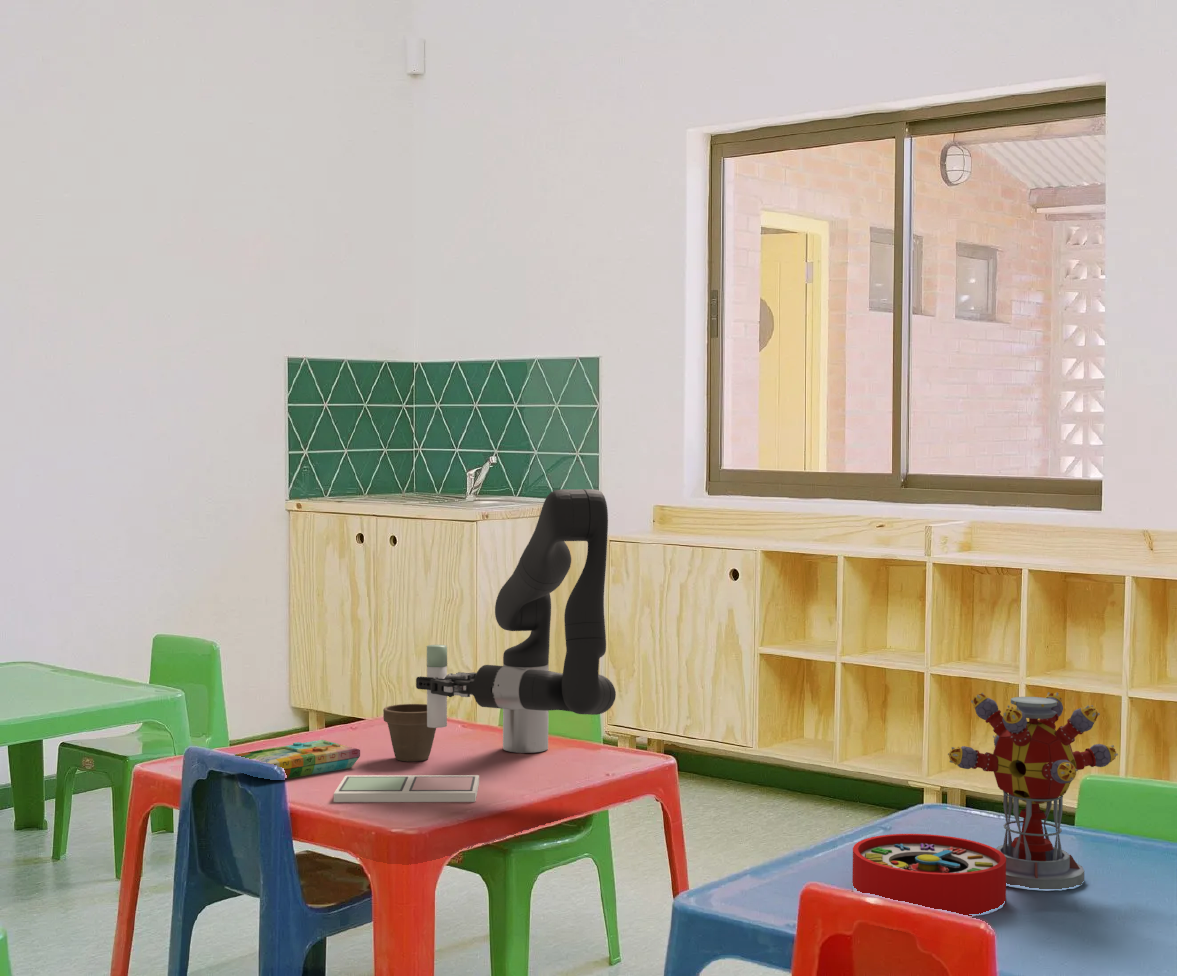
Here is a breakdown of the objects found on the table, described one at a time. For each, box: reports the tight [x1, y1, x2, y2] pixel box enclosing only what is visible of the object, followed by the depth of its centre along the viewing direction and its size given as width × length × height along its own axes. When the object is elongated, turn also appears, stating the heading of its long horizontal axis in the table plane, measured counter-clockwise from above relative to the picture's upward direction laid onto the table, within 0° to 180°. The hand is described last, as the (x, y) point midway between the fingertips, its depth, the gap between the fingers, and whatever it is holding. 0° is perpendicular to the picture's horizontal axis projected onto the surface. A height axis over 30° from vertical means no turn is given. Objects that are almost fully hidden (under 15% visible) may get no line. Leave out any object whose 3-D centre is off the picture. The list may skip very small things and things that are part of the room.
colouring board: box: [333, 774, 480, 803], centre depth 245 cm, size 14×24×2 cm, turn 92°
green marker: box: [426, 644, 448, 729], centre depth 254 cm, size 4×4×15 cm
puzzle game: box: [234, 739, 361, 780], centre depth 262 cm, size 12×5×20 cm
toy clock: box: [851, 833, 1007, 916], centre depth 187 cm, size 20×6×20 cm
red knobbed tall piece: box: [947, 691, 1119, 889], centre depth 196 cm, size 18×18×25 cm
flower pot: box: [382, 703, 437, 763], centre depth 274 cm, size 12×11×10 cm
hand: (423, 681), depth 255 cm, fingers closed on green marker, 3 cm apart
